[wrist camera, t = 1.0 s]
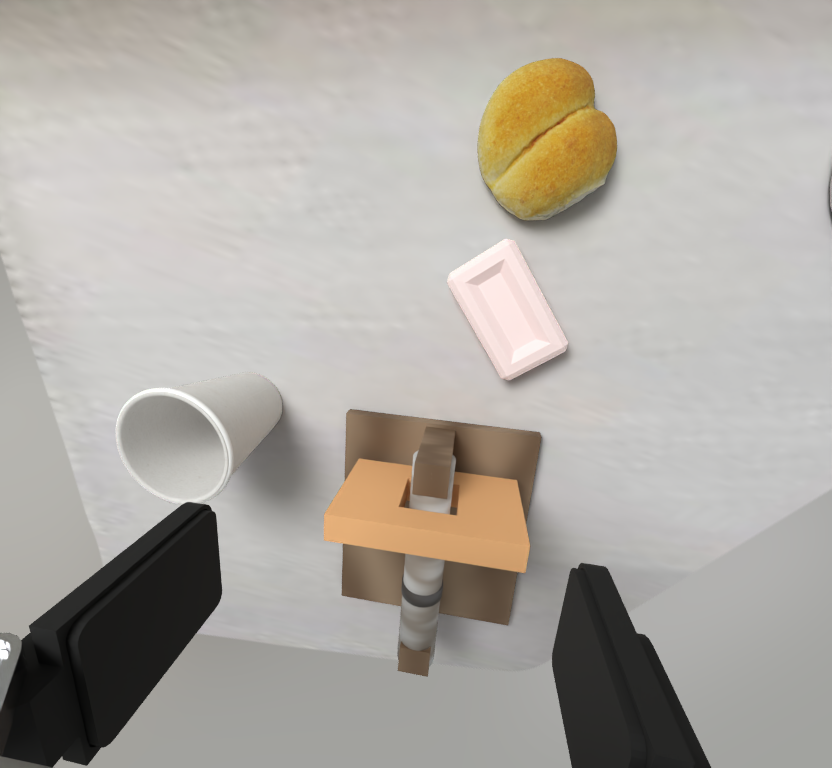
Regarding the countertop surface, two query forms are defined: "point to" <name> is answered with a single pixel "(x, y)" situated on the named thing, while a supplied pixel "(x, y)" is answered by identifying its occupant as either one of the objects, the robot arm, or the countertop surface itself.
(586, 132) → the bread roll
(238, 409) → the dixie cup
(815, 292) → the countertop surface
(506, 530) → the collar
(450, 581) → the pipe stand
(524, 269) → the soap bar
